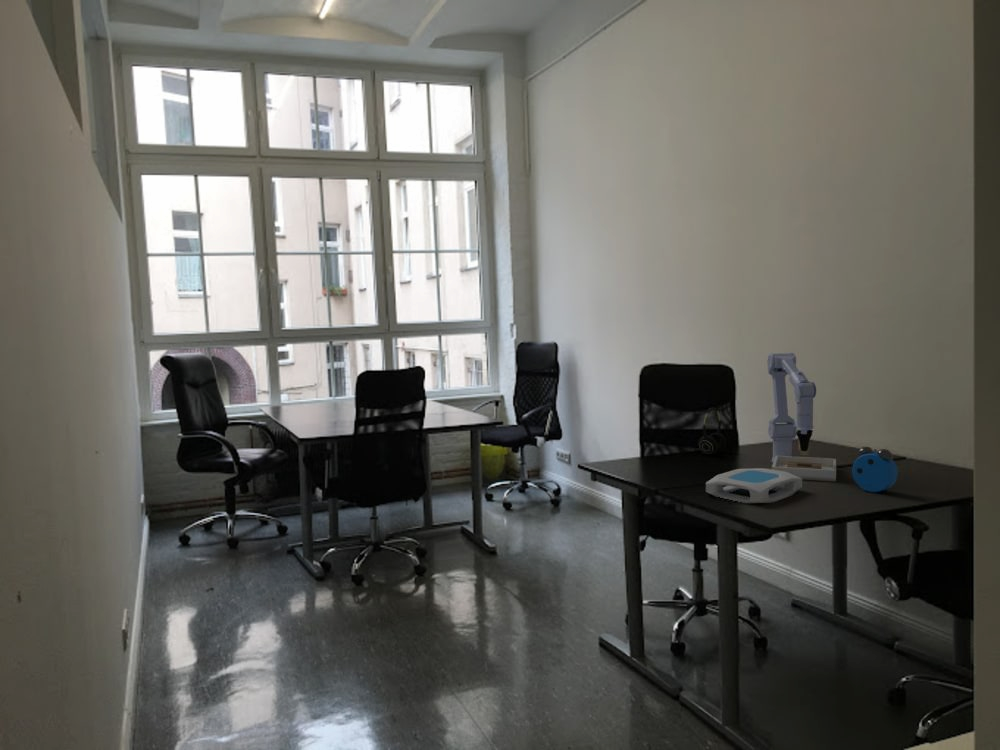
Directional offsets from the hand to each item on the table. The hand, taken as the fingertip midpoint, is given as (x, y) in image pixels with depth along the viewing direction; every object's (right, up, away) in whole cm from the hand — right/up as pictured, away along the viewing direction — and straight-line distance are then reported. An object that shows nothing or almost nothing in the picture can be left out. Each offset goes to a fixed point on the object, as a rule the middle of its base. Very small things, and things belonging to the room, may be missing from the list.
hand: (804, 450), depth 297 cm
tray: (0, -9, +1) cm, 9 cm away
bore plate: (0, -9, +1) cm, 9 cm away
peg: (0, -2, 0) cm, 2 cm away
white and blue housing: (-28, -13, -27) cm, 41 cm away
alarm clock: (+13, -12, -28) cm, 33 cm away
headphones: (-24, -6, +42) cm, 49 cm away
